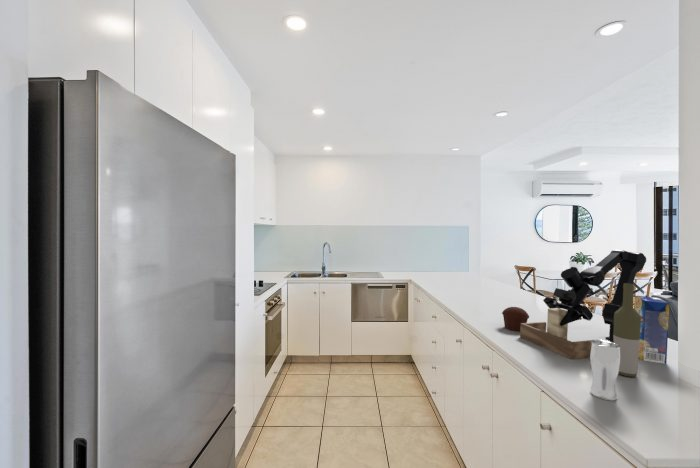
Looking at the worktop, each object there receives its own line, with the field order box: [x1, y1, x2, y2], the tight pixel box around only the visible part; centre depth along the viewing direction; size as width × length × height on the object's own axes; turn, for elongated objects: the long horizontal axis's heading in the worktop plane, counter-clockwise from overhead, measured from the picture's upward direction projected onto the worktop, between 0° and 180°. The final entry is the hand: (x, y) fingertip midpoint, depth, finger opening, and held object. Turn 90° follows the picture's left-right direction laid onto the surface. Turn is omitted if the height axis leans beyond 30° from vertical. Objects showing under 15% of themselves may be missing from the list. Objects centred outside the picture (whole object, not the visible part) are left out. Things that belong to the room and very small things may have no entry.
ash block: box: [546, 308, 569, 340], centre depth 137 cm, size 5×5×12 cm
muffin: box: [501, 306, 530, 333], centre depth 159 cm, size 12×11×10 cm
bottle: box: [612, 283, 641, 378], centre depth 111 cm, size 7×7×30 cm
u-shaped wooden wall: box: [519, 321, 593, 360], centre depth 137 cm, size 13×25×6 cm, turn 16°
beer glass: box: [589, 339, 620, 402], centre depth 97 cm, size 7×7×15 cm
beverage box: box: [633, 295, 670, 365], centre depth 127 cm, size 7×11×22 cm, turn 155°
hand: (554, 323), depth 136 cm, fingers closed on ash block, 5 cm apart
